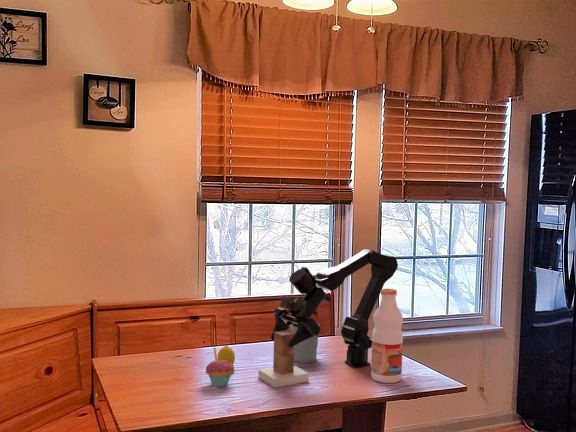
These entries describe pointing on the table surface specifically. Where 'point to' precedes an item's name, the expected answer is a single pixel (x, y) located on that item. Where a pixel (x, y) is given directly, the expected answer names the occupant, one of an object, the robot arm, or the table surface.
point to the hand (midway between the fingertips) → (280, 342)
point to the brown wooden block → (283, 353)
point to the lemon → (226, 354)
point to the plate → (283, 377)
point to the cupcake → (219, 371)
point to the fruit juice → (387, 340)
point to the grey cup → (305, 347)
